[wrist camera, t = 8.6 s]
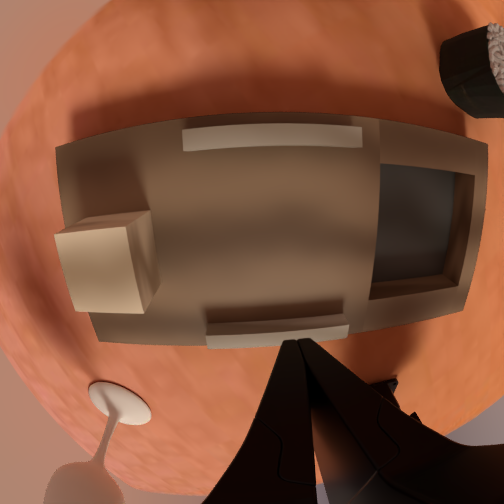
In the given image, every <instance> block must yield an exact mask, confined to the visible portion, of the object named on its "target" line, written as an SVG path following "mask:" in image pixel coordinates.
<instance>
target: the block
mask: <svg viewBox="0 0 504 504" xmlns="http://www.w3.org/2000/svg"><path fill="white" fill-rule="evenodd" d="M54 237H55V242H56V246H57V251H58V255H59V259H60V263H61V266H62V270H63V274H64V277H65V280H66V284H67V287H68V290H69V293H70V296H71V299H72V302H73V305H74V308H75V311H80V312H100V313H132V314H144V313H145V311H146V309H147V308H148V306H149V304H150V302H151V300H152V299H153V297H154V295H155V293H156V292H157V290H158V288H159V286H160V285H161V283H162V281H161V275H160V270H159V264H158V259H157V253H156V246H155V240H154V233H153V226H152V219H151V211H150V210H147V211H138V212H128V213H119V214H111V215H103V216H95V217H88V218H85V219H83V220H81V221H79V222H77V223H75V224H73V225H71V226H69V227H67V228H65V229H63V230H61V231H59V232H58V233H56V234H54Z"/></svg>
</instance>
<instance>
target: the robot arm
mask: <svg viewBox="0 0 504 504" xmlns="http://www.w3.org/2000/svg"><path fill="white" fill-rule="evenodd" d="M397 385H398V381H397V379H393V380H389V381H385V382H381V383H377V384H373V385H368V384H366V383H365V382H364V381H363V380H361V379H360V378H359V377H358V376H356V375H355V374H354V373H353V372H351V371H350V370H349V369H348V368H346V367H345V366H344V365H343V364H341V363H340V362H339V361H338V360H337V359H335V358H334V357H333V356H332V355H330V354H329V353H328V352H327V351H326V350H324V349H323V348H322V347H321V346H320V345H318V344H317V343H316V342H315V341H314V340H312V339H311V338H300V339H297V340H295V339H289V340H283V342H282V344H281V347H280V350H279V353H278V356H277V359H276V362H275V364H274V367H273V370H272V373H271V376H270V378H269V381H268V384H267V386H266V389H265V392H264V394H263V397H262V400H261V402H260V405H259V407H258V410H257V412H256V415H255V418H254V420H253V422H252V424H251V427H250V429H249V431H248V434H247V436H246V438H245V440H244V442H243V444H242V446H241V447H240V449H239V451H238V453H237V454H236V456H235V458H234V459H233V461H232V462H231V464H230V465H229V467H228V468H227V470H226V471H225V473H224V474H223V476H222V477H221V478H220V480H219V481H218V483H217V484H216V485H215V487H214V488H213V490H212V491H211V492H210V494H209V495H208V496H207V497H206V499H205V500H204V501H203V502H202V503H201V504H318V503H317V493H316V487H315V486H316V475H315V459H314V451H315V454H316V458H317V461H318V465H319V469H320V472H321V476H322V479H323V483H324V486H325V490H326V493H327V497H328V500H329V503H330V504H504V444H498V445H484V446H468V445H463V444H460V443H457V442H454V441H452V440H450V439H448V438H447V437H445V436H443V435H441V434H439V433H438V432H436V431H434V430H432V429H430V428H429V427H427V426H425V425H423V424H422V422H421V421H420V419H419V417H418V416H417V414H416V412H413V413H412V414H411V415H410V416H409V415H407V414H406V413H404V412H403V411H401V409H400V406H399V404H398V402H397V400H396V398H395V396H394V391H395V389H396V387H397Z"/></svg>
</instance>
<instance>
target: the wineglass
mask: <svg viewBox="0 0 504 504" xmlns="http://www.w3.org/2000/svg"><path fill="white" fill-rule="evenodd" d="M88 392H89V396H90V399H91V400H92V402H93V403H94V405H95V406H96V407H97V408H98V409H99V410H100V411H101V412H102V413H104V414H105V415H107V416H108V421H107V425H106V428H105V431H104V434H103V437H102V440H101V443H100V445H99V448H98V450H97V452H96V454H95V456H94V457H93V459H92V460H91V461H88V462H74V463H69V464H66V465H63V466H62V467H60V468H59V469H58V470H56V471H55V473H54V474H53V476H52V477H51V480H50V482H49V484H48V486H47V490H46V493H45V497H44V504H125V500H124V496H123V494H122V492H121V489H120V488H119V486H118V485H117V483H116V482H115V480H114V479H113V478H112V477H111V476H110V475H109V473H108V472H107V471H106V469H105V466H104V461H105V455H106V451H107V448H108V445H109V442H110V439H111V437H112V434H113V432H114V430H115V428H116V425H117V423H118V422H121V423H124V424H129V425H142V424H145V423H147V422H149V421H150V419H151V411H150V409H149V407H148V406H147V404H146V403H145V402H144V401H143V400H142V399H141V398H139V397H138V396H137V395H135V394H134V393H132V392H131V391H129V390H127V389H125V388H123V387H121V386H118V385H115V384H112V383H107V382H96V383H94V384H92V385H91V386H90V387H89V391H88Z"/></svg>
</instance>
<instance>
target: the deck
mask: <svg viewBox="0 0 504 504" xmlns="http://www.w3.org/2000/svg"><path fill="white" fill-rule="evenodd" d="M55 149H56V164H57V175H58V184H59V192H60V200H61V206H62V212H63V218H64V224H65V228H67V227H69V226H71V225H73V224H75V223H77V222H79V221H81V220H83V219H85V218H88V217H95V216H103V215H111V214H119V213H128V212H138V211H147V210H150V211H151V219H152V226H153V233H154V240H155V246H156V253H157V259H158V264H159V270H160V275H161V281H162V283H161V285H160V286H159V288H158V290H157V292H156V293H155V295H154V297H153V299H152V300H151V302H150V304H149V306H148V308H147V309H146V311H145V313H144V314H132V313H100V312H88V313H89V316H90V319H91V322H92V324H93V327H94V330H95V332H96V335H97V337H98V340H99V341H100V342H112V343H126V344H144V345H181V346H202V345H207V347H208V349H228V348H251V347H267V346H281V344H282V342H283V340H289V339H295V340H297V339H300V338H311V339H312V340H314V341H315V342H320V341H328V340H336V339H343V338H347V335H348V334H354V333H360V332H367V331H373V330H378V329H384V328H389V327H395V326H400V325H405V324H410V323H414V322H419V321H423V320H428V319H432V318H436V317H440V316H444V315H448V314H452V313H456V312H460V311H463V309H464V305H465V302H466V299H467V296H468V292H469V289H470V285H471V281H472V277H473V274H474V269H475V265H476V261H477V256H478V251H479V246H480V241H481V235H482V228H483V222H484V214H485V205H486V194H487V178H488V144H486V143H483V142H480V141H477V140H474V139H470V138H467V137H463V136H460V135H456V134H453V133H449V132H445V131H441V130H437V129H432V128H428V127H423V126H418V125H413V124H408V123H403V122H397V121H391V120H384V119H377V118H369V117H361V116H351V115H340V114H327V113H307V112H252V113H232V114H219V115H208V116H198V117H189V118H181V119H174V120H167V121H161V122H155V123H149V124H144V125H139V126H134V127H129V128H124V129H120V130H115V131H111V132H107V133H103V134H99V135H95V136H91V137H88V138H84V139H81V140H77V141H74V142H71V143H67V144H64V145H61V146H58V147H55Z"/></svg>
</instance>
